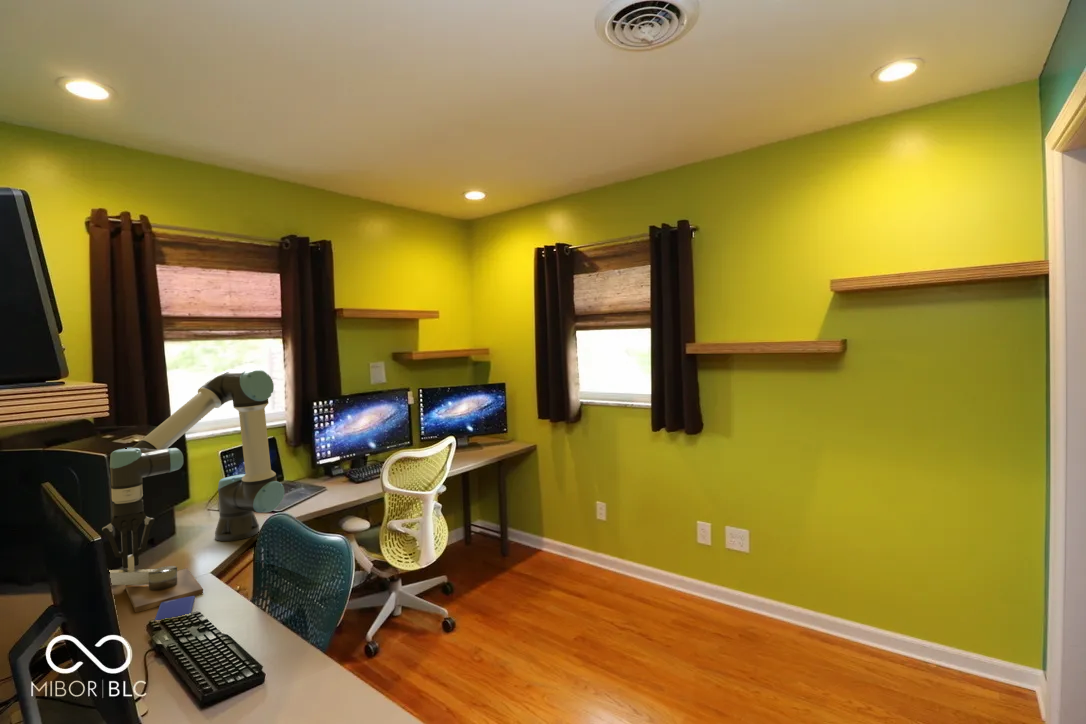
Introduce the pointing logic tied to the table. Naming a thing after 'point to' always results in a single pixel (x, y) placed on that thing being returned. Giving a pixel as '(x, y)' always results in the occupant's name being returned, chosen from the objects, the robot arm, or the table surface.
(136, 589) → the base plate
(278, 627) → the table surface
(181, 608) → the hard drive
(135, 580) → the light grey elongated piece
